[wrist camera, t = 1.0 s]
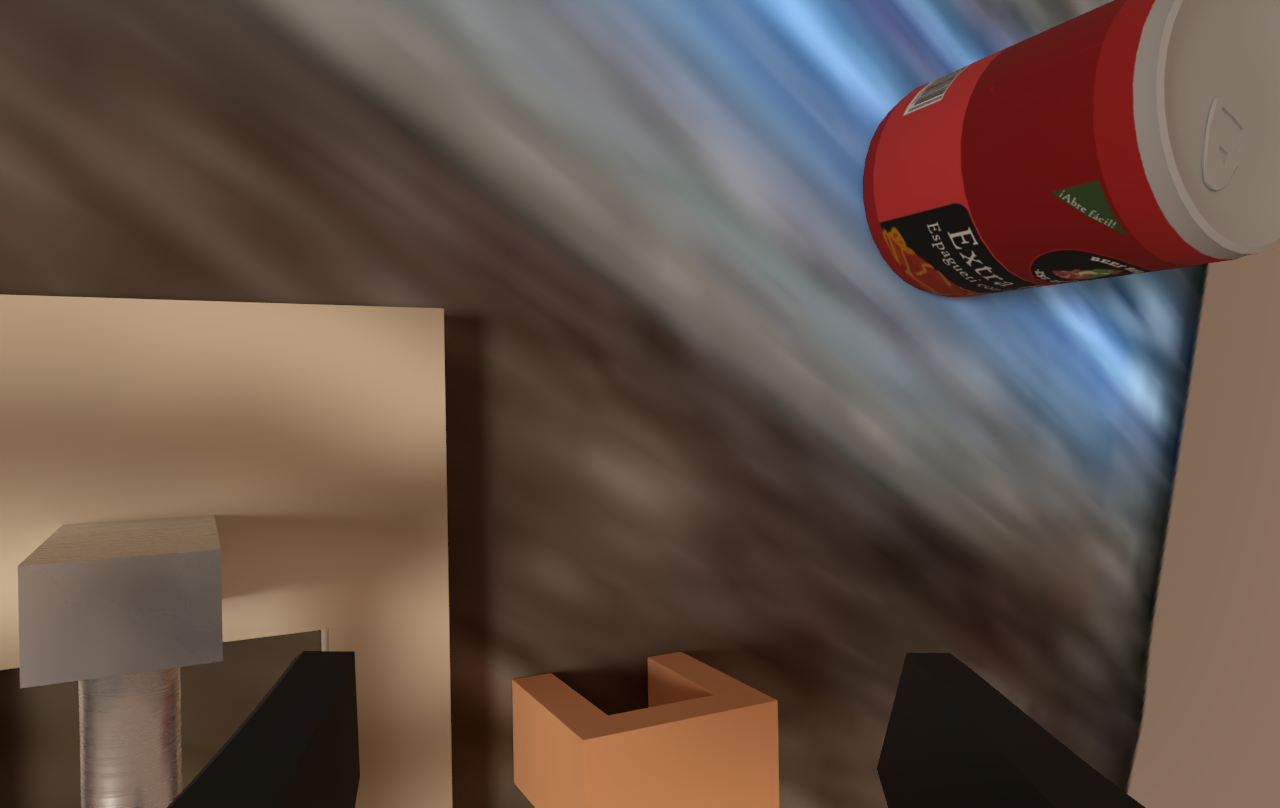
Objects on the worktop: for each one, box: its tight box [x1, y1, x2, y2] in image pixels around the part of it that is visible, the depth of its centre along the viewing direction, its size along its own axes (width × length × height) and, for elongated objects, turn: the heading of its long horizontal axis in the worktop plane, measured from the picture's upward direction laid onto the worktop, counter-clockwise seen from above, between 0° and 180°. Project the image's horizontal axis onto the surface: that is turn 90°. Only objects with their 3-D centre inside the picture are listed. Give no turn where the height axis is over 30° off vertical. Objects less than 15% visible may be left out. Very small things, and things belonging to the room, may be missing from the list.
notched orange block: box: [512, 652, 779, 808], centre depth 25 cm, size 3×6×5 cm, turn 90°
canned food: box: [863, 0, 1280, 297], centre depth 28 cm, size 8×8×11 cm
